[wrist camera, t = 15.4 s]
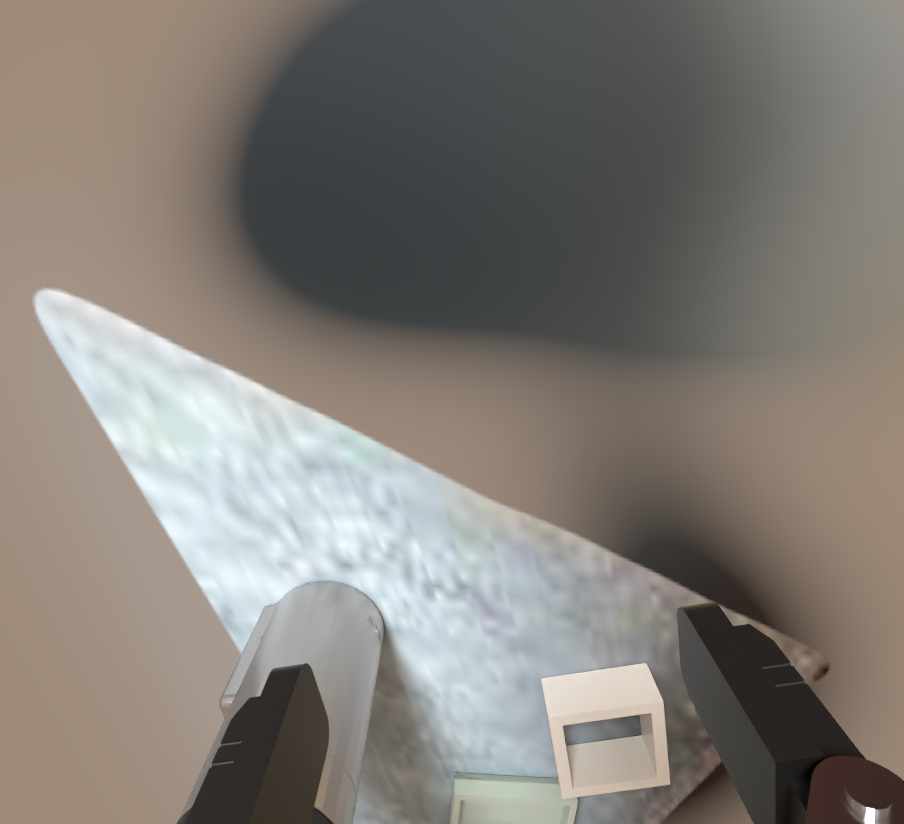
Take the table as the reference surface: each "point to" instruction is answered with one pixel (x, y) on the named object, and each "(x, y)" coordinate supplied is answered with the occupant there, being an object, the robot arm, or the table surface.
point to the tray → (509, 800)
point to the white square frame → (616, 758)
